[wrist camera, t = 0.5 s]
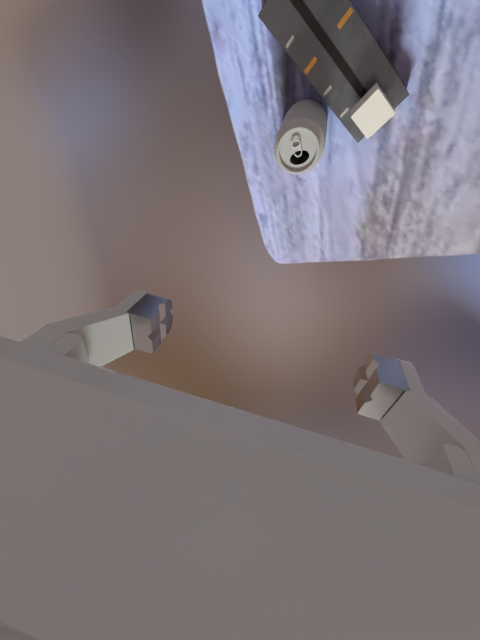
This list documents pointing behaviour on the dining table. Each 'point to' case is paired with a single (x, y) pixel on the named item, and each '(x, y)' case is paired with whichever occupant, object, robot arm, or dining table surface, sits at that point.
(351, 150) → the dining table surface
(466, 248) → the dining table surface
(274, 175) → the dining table surface
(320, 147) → the can
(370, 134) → the fader knob
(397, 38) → the dining table surface
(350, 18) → the fader panel
